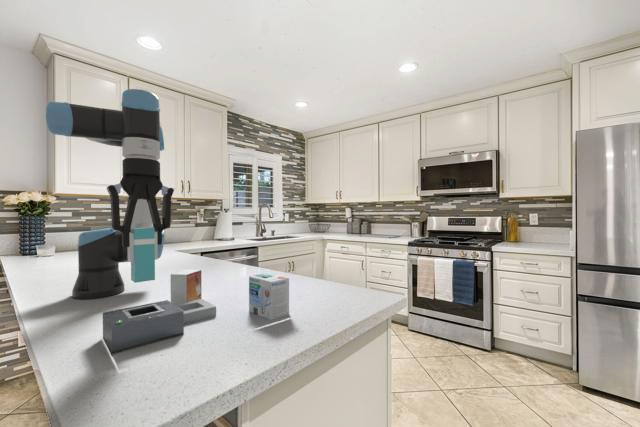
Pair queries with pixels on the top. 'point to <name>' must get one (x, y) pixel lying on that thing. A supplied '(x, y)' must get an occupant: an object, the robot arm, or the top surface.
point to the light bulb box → (269, 295)
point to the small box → (185, 286)
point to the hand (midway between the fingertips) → (142, 259)
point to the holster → (197, 310)
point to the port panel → (141, 325)
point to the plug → (143, 255)
